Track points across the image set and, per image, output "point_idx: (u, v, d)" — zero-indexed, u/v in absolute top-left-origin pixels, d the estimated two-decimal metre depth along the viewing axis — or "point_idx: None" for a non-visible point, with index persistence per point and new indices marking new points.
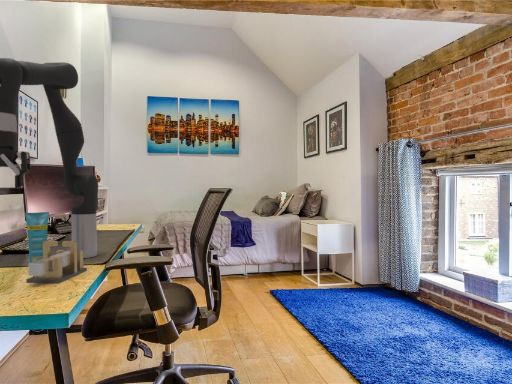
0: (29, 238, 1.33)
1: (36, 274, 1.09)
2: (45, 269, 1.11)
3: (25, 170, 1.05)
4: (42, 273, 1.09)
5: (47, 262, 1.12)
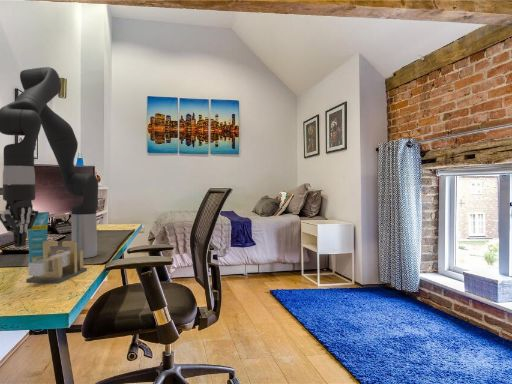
0: (29, 238, 1.33)
1: (36, 274, 1.09)
2: (45, 269, 1.11)
3: (31, 226, 1.05)
4: (42, 273, 1.09)
5: (47, 262, 1.12)
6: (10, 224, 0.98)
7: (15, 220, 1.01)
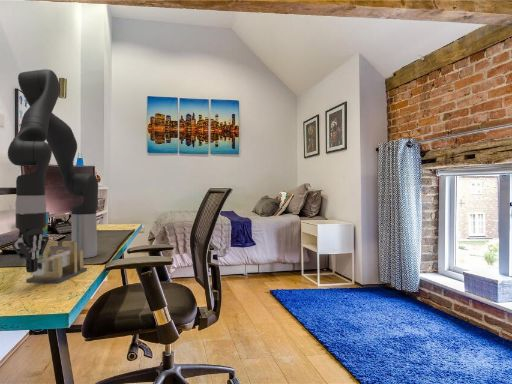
0: None
1: (38, 273, 1.09)
2: (47, 268, 1.12)
3: (42, 252, 1.10)
4: (44, 272, 1.10)
5: (49, 261, 1.13)
6: (23, 252, 1.03)
7: (27, 247, 1.06)
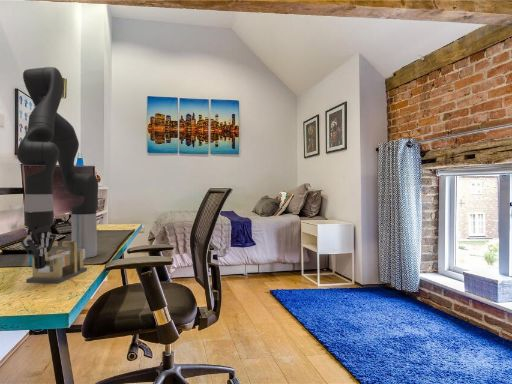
0: None
1: (45, 271, 1.13)
2: None
3: (49, 249, 1.14)
4: (51, 270, 1.14)
5: None
6: (31, 249, 1.06)
7: (35, 244, 1.09)
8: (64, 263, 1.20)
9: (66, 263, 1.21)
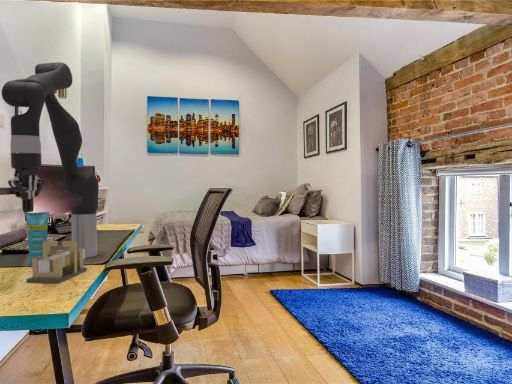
0: (29, 238, 1.33)
1: (45, 271, 1.13)
2: None
3: (38, 193, 1.12)
4: (51, 270, 1.14)
5: None
6: (19, 190, 1.05)
7: (23, 187, 1.08)
8: (64, 263, 1.20)
9: (66, 263, 1.21)
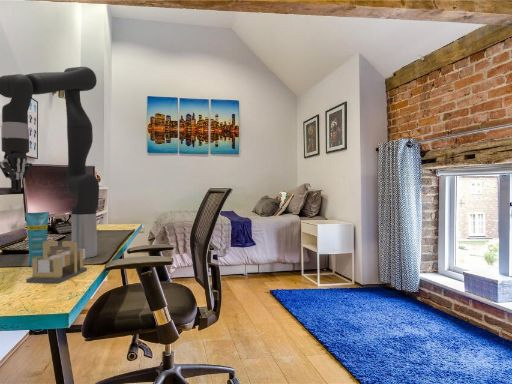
0: (29, 238, 1.33)
1: (45, 271, 1.13)
2: None
3: (25, 175, 1.24)
4: (51, 270, 1.14)
5: None
6: (8, 171, 1.17)
7: (12, 168, 1.20)
8: (64, 263, 1.20)
9: (66, 263, 1.21)
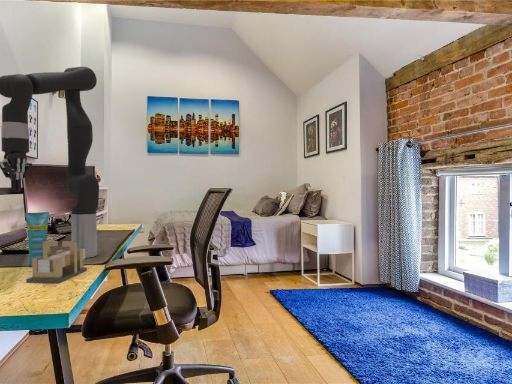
0: (29, 238, 1.33)
1: (45, 271, 1.13)
2: None
3: (25, 175, 1.24)
4: (51, 270, 1.14)
5: None
6: (8, 170, 1.17)
7: (12, 168, 1.20)
8: (64, 263, 1.20)
9: (66, 263, 1.21)
